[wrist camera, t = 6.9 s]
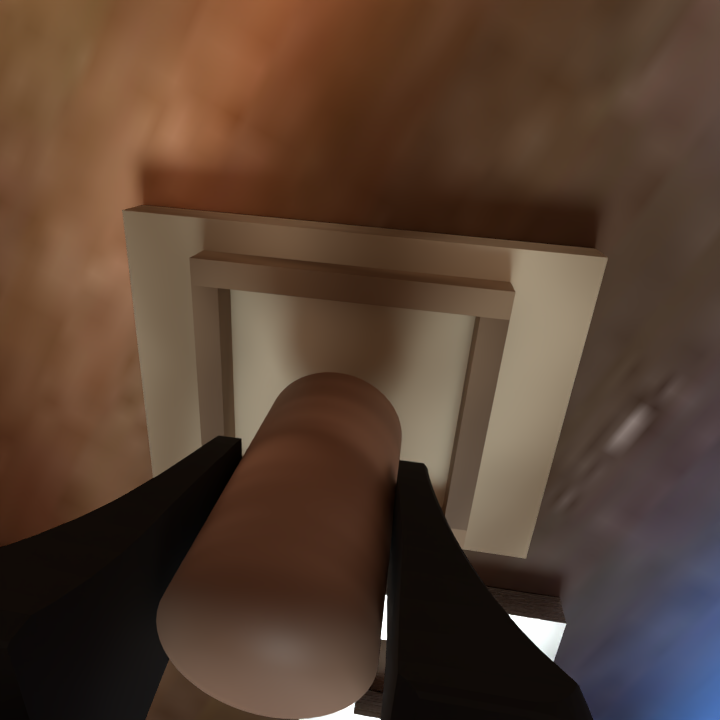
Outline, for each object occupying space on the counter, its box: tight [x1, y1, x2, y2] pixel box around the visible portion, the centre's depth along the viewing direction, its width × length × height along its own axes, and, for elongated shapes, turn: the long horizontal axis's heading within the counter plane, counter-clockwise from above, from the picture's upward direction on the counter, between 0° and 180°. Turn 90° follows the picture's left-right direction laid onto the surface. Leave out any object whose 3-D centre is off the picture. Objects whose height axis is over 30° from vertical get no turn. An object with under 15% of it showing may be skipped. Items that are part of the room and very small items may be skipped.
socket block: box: [299, 586, 566, 720], centre depth 23 cm, size 10×10×1 cm
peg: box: [156, 372, 402, 719], centre depth 12 cm, size 4×4×7 cm
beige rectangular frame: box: [122, 205, 608, 558], centre depth 17 cm, size 14×11×2 cm
